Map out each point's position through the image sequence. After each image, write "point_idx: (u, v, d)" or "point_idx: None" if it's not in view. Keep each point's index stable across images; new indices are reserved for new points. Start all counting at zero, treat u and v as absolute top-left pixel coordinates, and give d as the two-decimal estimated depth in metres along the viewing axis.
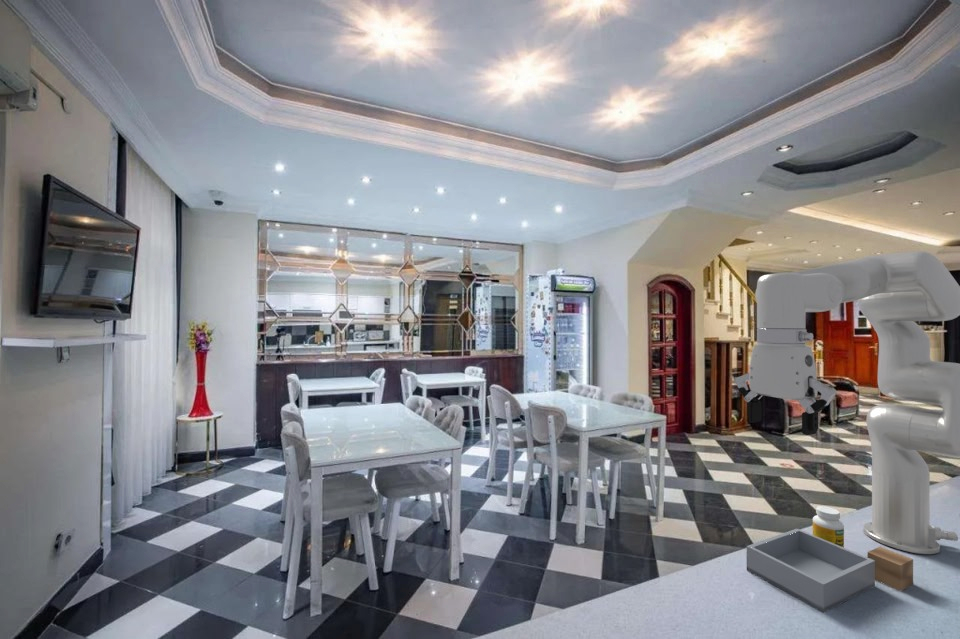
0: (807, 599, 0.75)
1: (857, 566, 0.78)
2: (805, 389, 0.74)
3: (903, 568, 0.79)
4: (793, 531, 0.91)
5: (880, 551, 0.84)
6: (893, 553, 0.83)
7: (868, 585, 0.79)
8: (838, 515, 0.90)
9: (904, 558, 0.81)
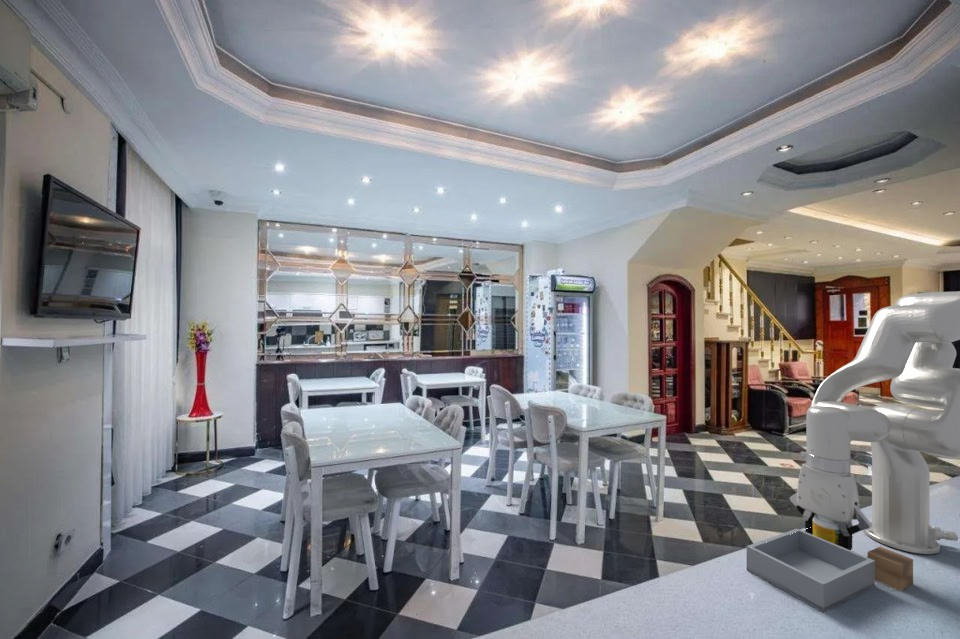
0: (807, 599, 0.75)
1: (857, 566, 0.78)
2: None
3: (903, 568, 0.79)
4: (793, 531, 0.91)
5: (880, 551, 0.84)
6: (893, 553, 0.83)
7: (868, 585, 0.79)
8: None
9: (904, 558, 0.81)
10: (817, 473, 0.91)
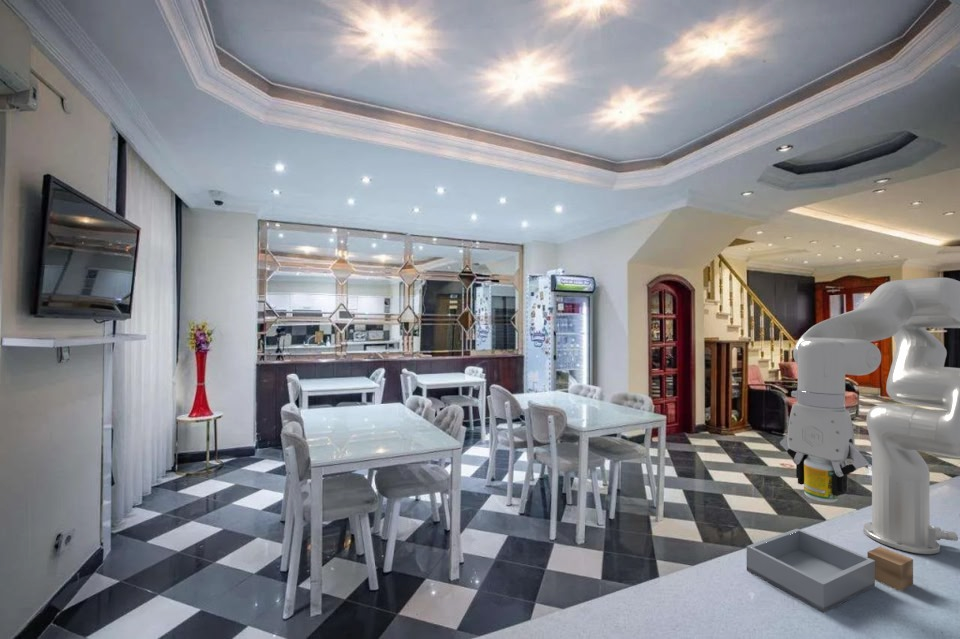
0: (807, 599, 0.75)
1: (857, 566, 0.78)
2: None
3: (903, 568, 0.79)
4: (793, 531, 0.91)
5: (880, 551, 0.84)
6: (893, 553, 0.83)
7: (868, 585, 0.79)
8: None
9: (904, 558, 0.81)
10: (809, 410, 0.84)
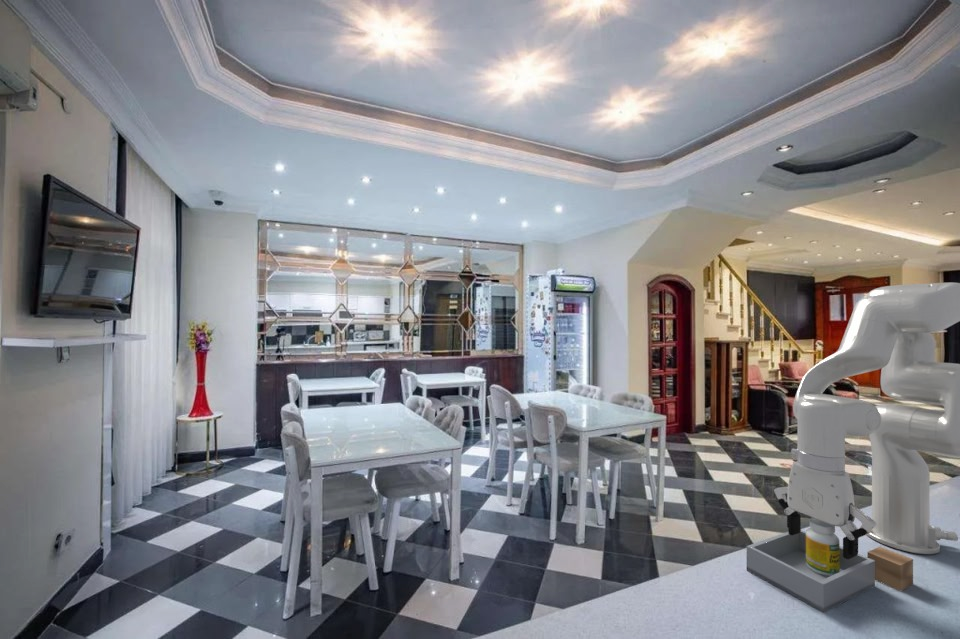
0: (807, 599, 0.75)
1: (857, 566, 0.78)
2: None
3: (903, 568, 0.79)
4: None
5: (880, 551, 0.84)
6: (893, 553, 0.83)
7: (868, 585, 0.79)
8: (833, 529, 0.82)
9: (904, 558, 0.81)
10: (809, 472, 0.84)
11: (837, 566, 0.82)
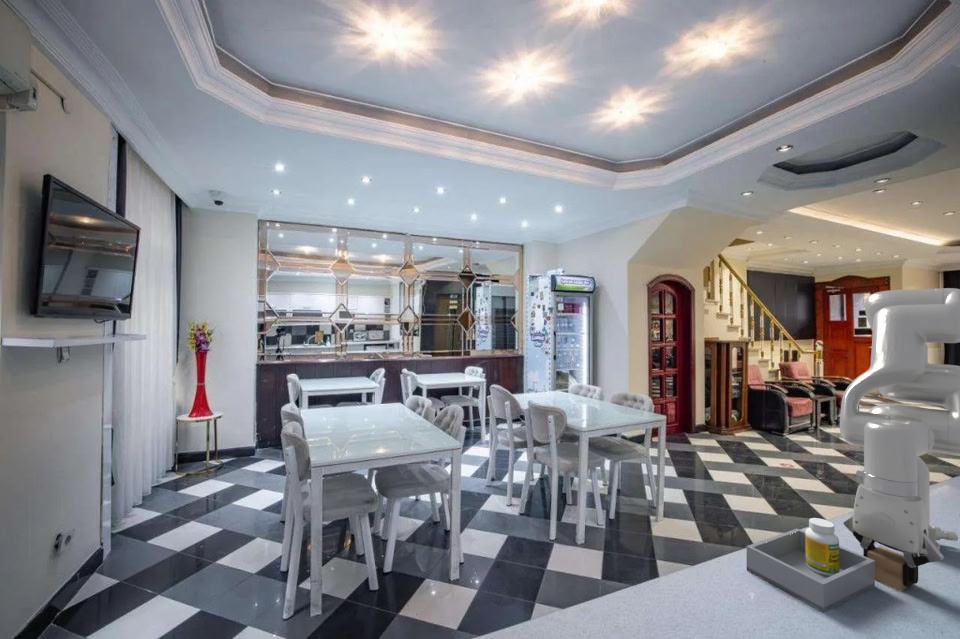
0: (807, 599, 0.75)
1: (857, 566, 0.78)
2: None
3: None
4: (793, 531, 0.91)
5: (880, 551, 0.84)
6: (893, 552, 0.83)
7: (868, 585, 0.79)
8: (832, 528, 0.83)
9: (904, 558, 0.81)
10: (878, 496, 0.82)
11: (837, 566, 0.82)
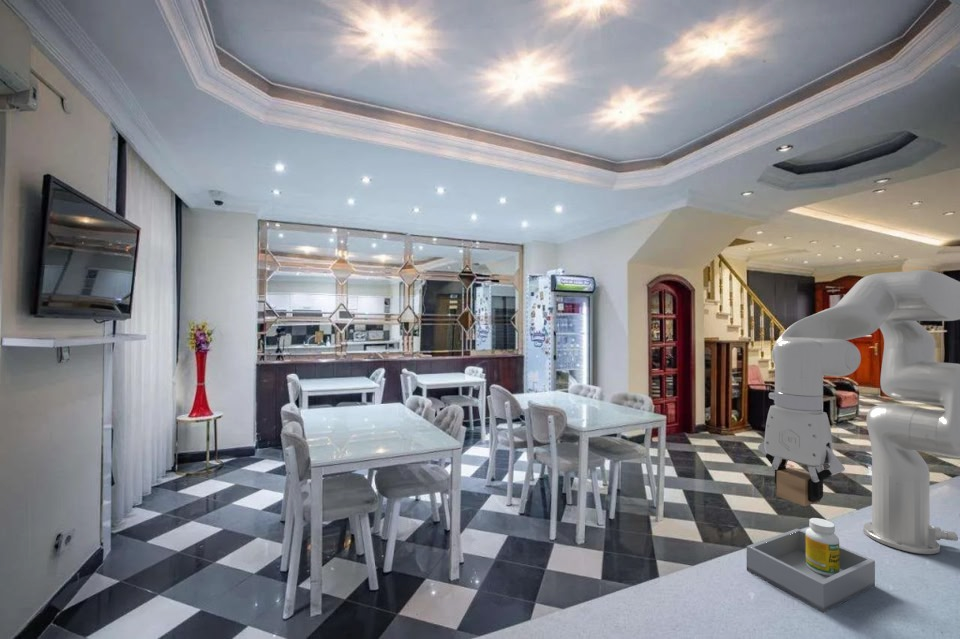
0: (807, 599, 0.75)
1: (857, 566, 0.78)
2: None
3: None
4: (793, 531, 0.91)
5: (789, 470, 0.83)
6: (802, 471, 0.82)
7: (868, 585, 0.79)
8: (832, 528, 0.83)
9: None
10: (786, 413, 0.81)
11: (837, 566, 0.82)
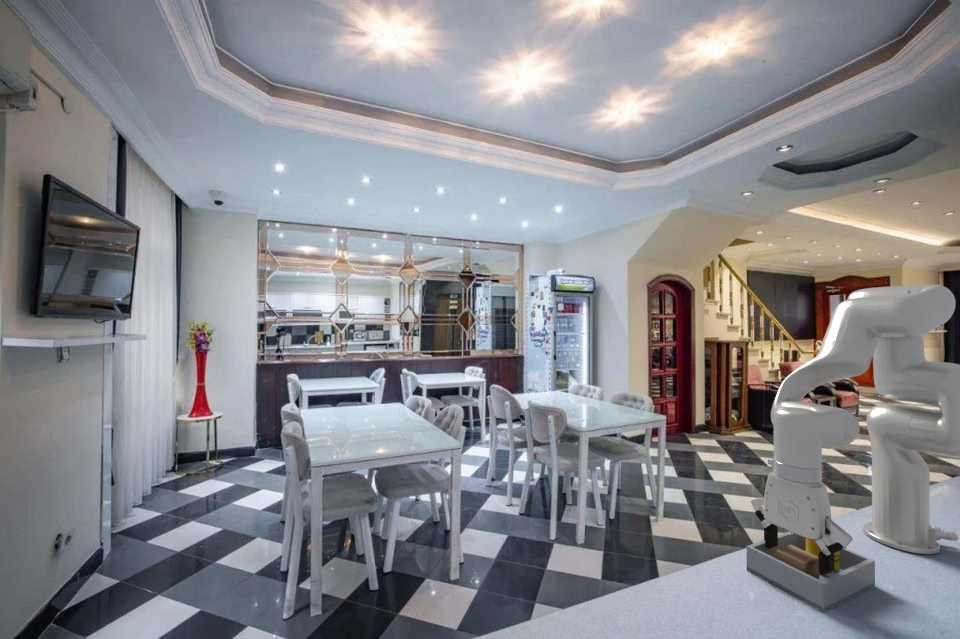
0: (807, 599, 0.75)
1: (857, 566, 0.78)
2: None
3: (807, 566, 0.78)
4: None
5: (789, 550, 0.83)
6: (801, 551, 0.82)
7: (868, 585, 0.79)
8: None
9: (810, 556, 0.80)
10: (785, 483, 0.81)
11: (837, 566, 0.82)
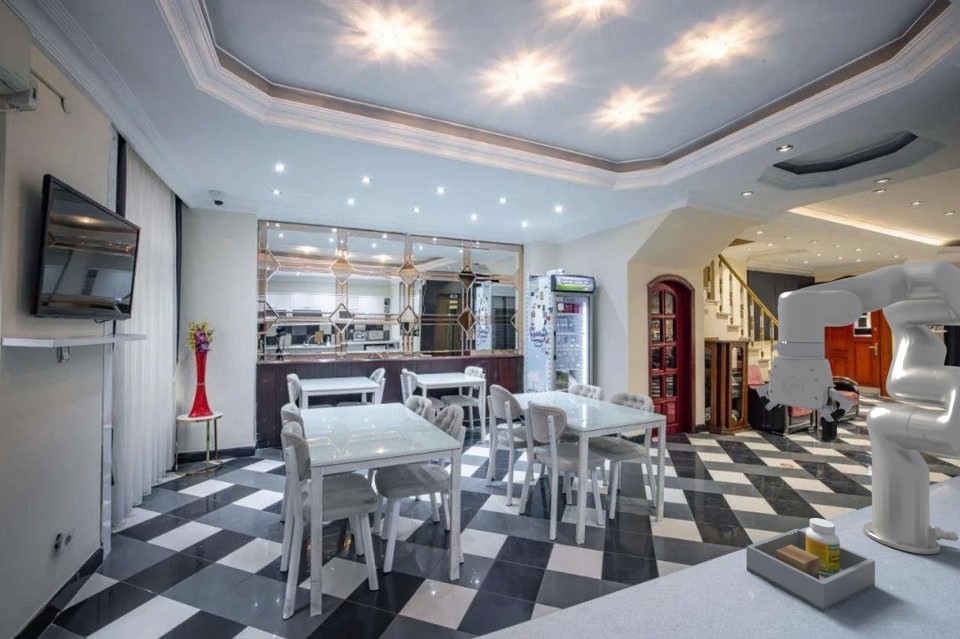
0: (807, 599, 0.75)
1: (857, 566, 0.78)
2: None
3: (807, 566, 0.78)
4: (793, 531, 0.91)
5: (789, 550, 0.83)
6: (801, 551, 0.82)
7: (868, 585, 0.79)
8: (833, 528, 0.83)
9: (810, 556, 0.80)
10: (789, 361, 0.84)
11: (837, 566, 0.82)
